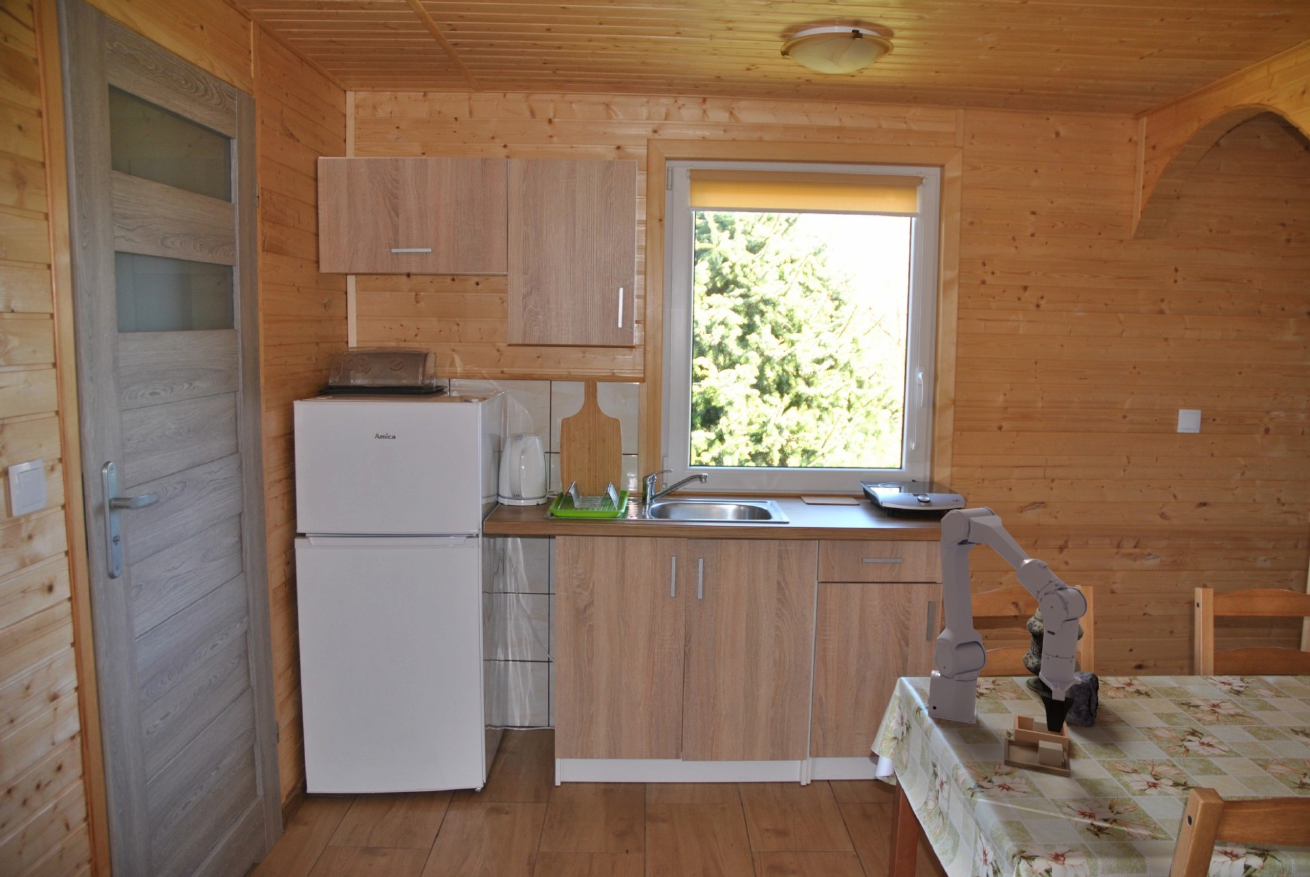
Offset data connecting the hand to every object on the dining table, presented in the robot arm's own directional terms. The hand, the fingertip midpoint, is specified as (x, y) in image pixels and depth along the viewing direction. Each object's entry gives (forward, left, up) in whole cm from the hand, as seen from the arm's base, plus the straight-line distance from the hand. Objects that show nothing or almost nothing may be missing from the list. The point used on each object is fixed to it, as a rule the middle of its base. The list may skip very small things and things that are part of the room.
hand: (1053, 723), depth 171 cm
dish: (-1, +9, -8) cm, 12 cm away
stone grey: (-3, +9, -5) cm, 11 cm away
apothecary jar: (+2, +40, -8) cm, 41 cm away
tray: (-2, 0, -8) cm, 8 cm away
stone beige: (0, 0, -7) cm, 7 cm away
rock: (+7, +23, -8) cm, 25 cm away
